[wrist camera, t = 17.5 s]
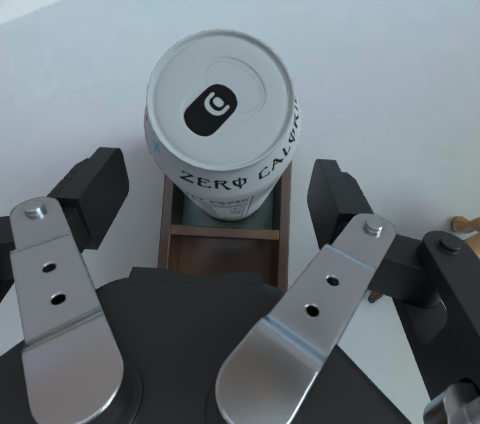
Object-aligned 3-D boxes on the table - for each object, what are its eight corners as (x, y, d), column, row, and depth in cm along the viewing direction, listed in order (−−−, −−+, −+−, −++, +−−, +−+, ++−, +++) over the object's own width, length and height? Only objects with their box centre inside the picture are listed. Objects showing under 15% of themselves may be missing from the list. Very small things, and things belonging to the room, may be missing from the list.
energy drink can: (281, 184, 24) (352, 93, 10) (232, 238, 24) (226, 229, 9) (227, 137, 25) (216, -22, 10) (178, 188, 24) (87, 102, 9)
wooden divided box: (166, 336, 24) (149, 358, 19) (181, 134, 26) (169, 110, 21) (275, 342, 24) (285, 365, 19) (283, 139, 26) (293, 117, 21)
